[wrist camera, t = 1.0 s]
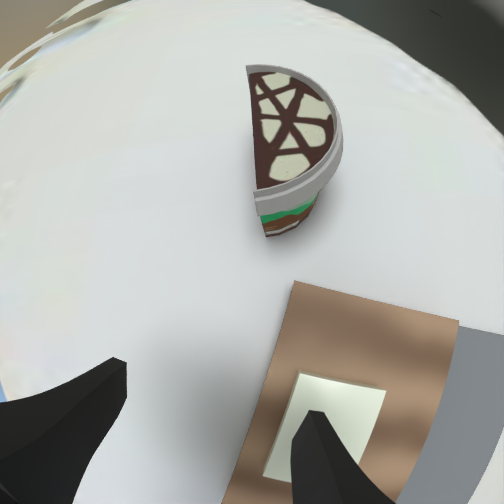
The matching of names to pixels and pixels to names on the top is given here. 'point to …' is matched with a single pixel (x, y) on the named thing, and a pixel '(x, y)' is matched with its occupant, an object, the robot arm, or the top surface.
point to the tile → (335, 408)
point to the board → (357, 370)
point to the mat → (462, 423)
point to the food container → (291, 144)
